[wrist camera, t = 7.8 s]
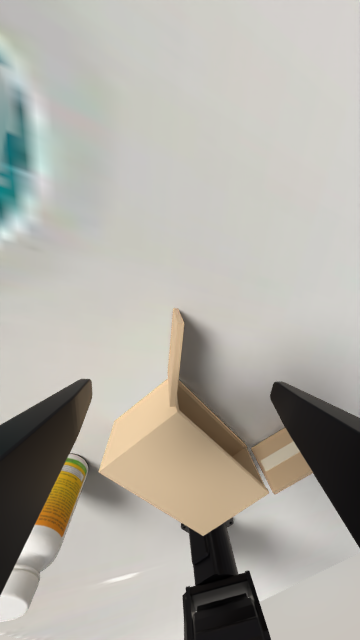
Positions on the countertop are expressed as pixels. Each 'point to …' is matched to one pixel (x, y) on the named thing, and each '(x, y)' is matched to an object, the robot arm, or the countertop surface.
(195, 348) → the countertop surface
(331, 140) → the countertop surface
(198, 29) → the countertop surface
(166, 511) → the carton
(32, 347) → the countertop surface
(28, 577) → the supplement bottle
